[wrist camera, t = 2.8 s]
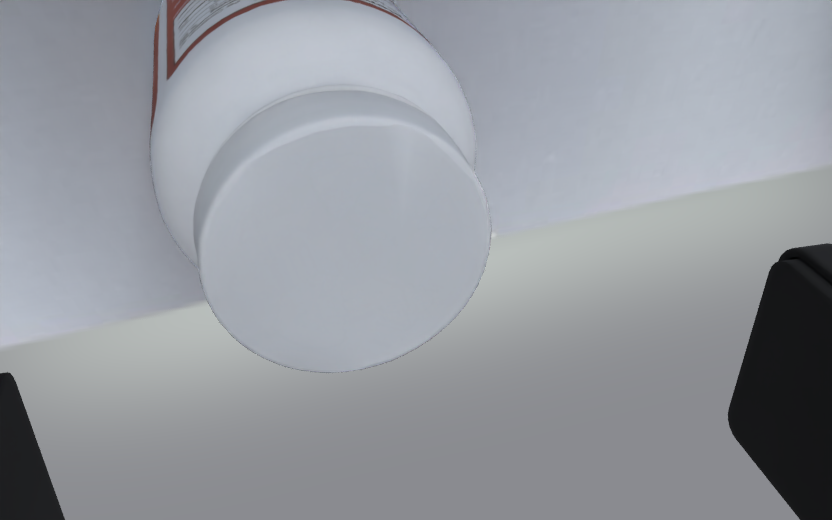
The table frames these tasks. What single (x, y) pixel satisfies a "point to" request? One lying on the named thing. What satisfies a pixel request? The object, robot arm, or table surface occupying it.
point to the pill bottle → (317, 176)
